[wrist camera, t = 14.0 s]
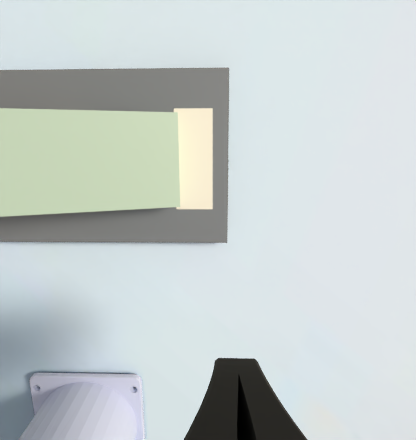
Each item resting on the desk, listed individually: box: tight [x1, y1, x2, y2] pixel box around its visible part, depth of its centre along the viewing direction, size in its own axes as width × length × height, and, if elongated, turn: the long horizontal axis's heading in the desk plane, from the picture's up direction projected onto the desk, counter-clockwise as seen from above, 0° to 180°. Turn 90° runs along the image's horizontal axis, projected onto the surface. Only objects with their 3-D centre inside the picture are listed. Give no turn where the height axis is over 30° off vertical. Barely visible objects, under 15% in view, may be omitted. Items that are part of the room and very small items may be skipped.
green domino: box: [0, 108, 180, 217], centre depth 16 cm, size 2×5×10 cm
